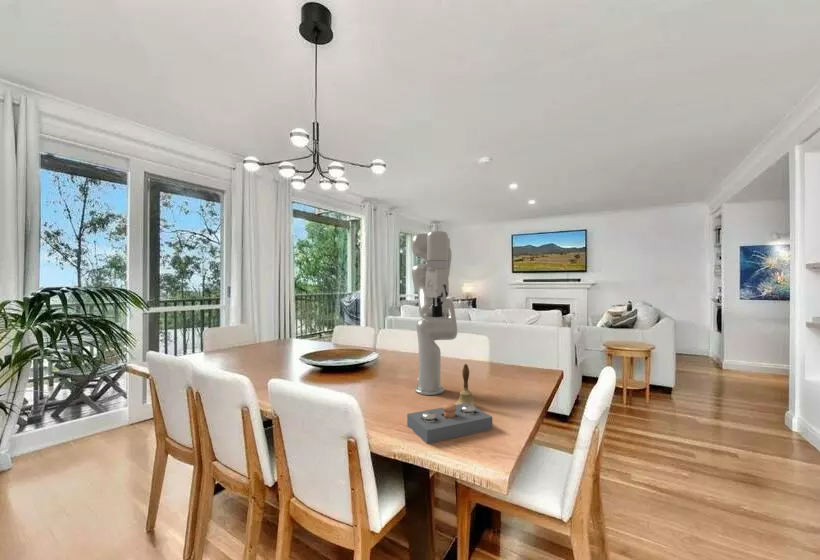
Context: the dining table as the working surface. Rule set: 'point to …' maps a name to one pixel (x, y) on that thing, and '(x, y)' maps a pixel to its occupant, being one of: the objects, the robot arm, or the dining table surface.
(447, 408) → the peach grooved knob
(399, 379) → the dining table surface
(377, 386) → the dining table surface
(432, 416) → the ball
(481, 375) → the dining table surface
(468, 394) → the hand bell
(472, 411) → the silver rounded piece
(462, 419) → the panel
